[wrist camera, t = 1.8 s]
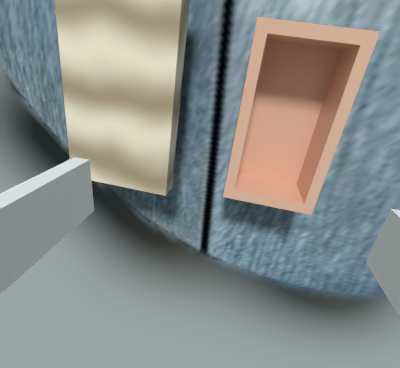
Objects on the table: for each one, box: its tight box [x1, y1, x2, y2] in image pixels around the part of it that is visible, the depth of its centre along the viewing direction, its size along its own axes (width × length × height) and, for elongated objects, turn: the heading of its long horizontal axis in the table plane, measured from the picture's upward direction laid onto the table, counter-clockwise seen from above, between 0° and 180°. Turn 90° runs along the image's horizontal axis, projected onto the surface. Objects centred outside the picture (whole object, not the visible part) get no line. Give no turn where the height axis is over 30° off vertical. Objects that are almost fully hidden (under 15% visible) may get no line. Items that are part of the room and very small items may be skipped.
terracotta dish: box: [223, 17, 380, 215], centre depth 25 cm, size 16×9×6 cm, turn 172°
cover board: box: [55, 0, 190, 196], centre depth 25 cm, size 20×11×2 cm, turn 172°
